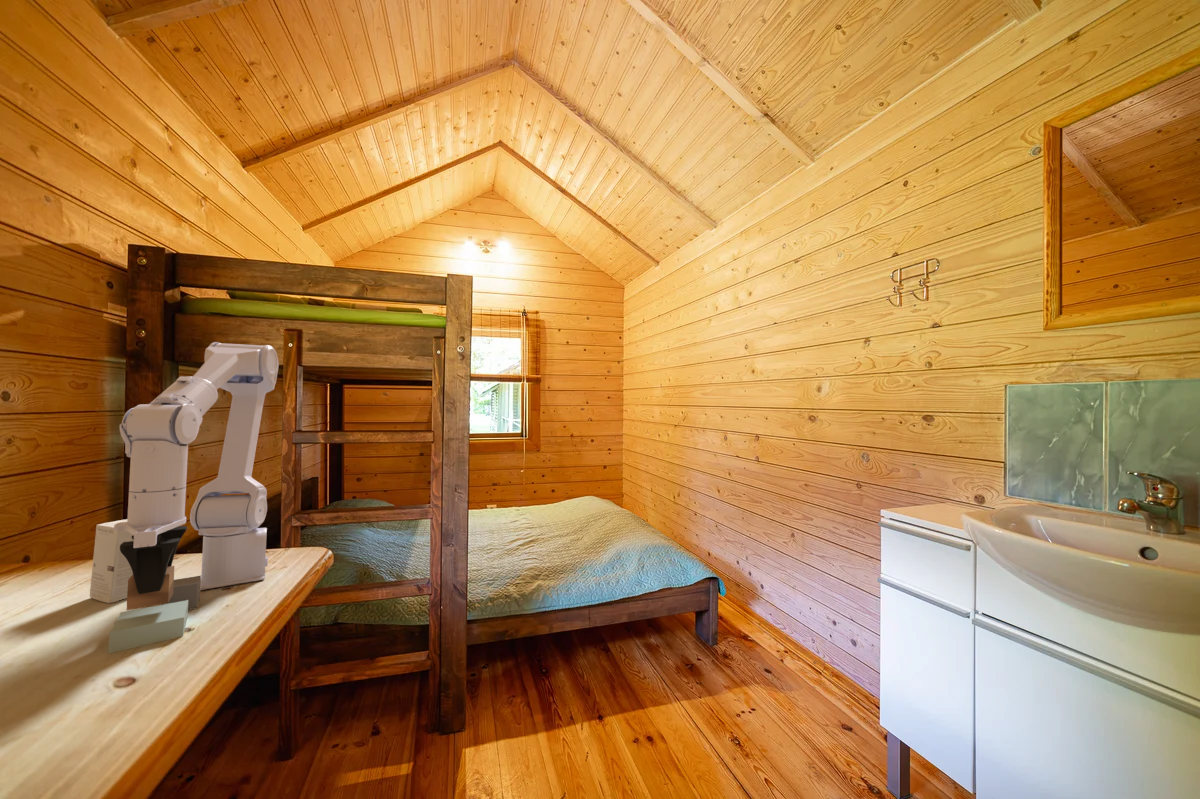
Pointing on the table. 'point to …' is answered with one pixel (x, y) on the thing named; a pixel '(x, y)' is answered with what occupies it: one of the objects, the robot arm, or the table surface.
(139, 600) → the walnut cube
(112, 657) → the table surface
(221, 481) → the robot arm
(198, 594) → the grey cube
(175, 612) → the base block
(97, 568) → the skincare box
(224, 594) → the table surface
